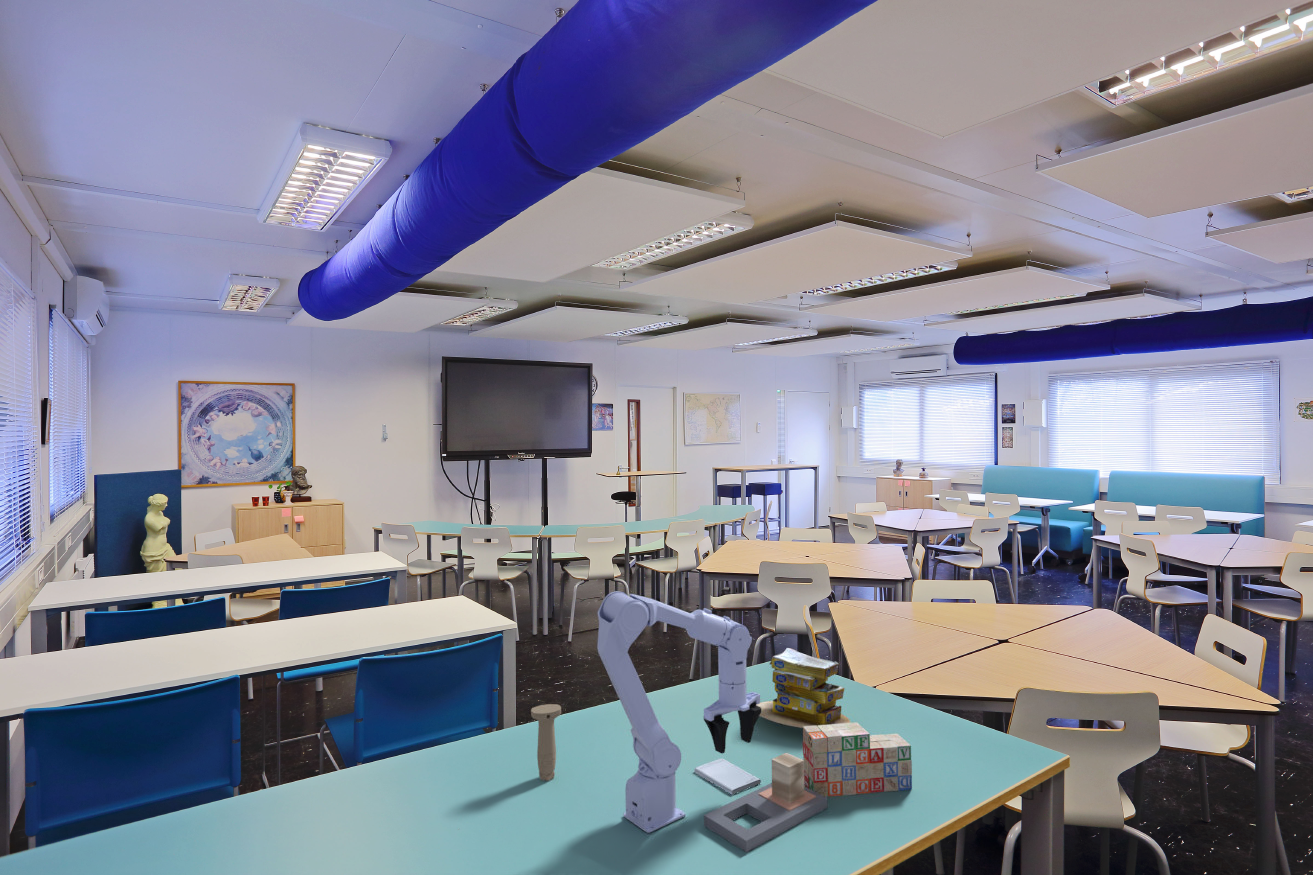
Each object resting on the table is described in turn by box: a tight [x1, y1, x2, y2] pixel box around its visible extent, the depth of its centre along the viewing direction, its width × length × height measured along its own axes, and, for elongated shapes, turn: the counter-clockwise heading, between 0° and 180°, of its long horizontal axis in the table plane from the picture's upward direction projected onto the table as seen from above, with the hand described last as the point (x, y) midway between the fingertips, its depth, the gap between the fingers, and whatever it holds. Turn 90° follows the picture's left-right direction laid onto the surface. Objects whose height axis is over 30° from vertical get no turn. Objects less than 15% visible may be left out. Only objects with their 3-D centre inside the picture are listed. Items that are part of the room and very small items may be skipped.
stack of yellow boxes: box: [756, 647, 851, 729], centre depth 177 cm, size 25×25×17 cm
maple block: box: [771, 752, 805, 803], centre depth 136 cm, size 4×4×7 cm
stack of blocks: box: [802, 721, 913, 797], centre depth 144 cm, size 21×6×12 cm, turn 97°
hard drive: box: [694, 758, 762, 796], centre depth 148 cm, size 2×8×12 cm
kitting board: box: [703, 782, 828, 853], centre depth 132 cm, size 23×11×2 cm, turn 129°
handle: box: [530, 703, 562, 782], centre depth 148 cm, size 5×6×15 cm
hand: (733, 746), depth 141 cm, fingers open, 7 cm apart
